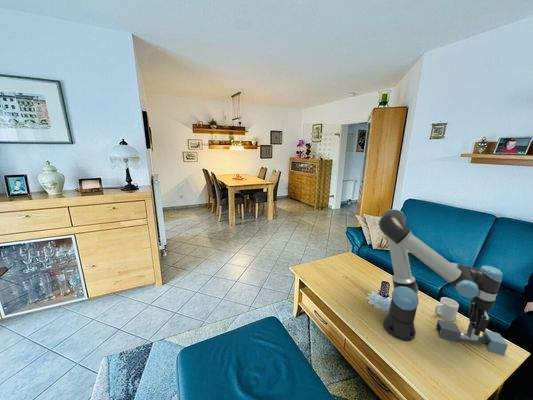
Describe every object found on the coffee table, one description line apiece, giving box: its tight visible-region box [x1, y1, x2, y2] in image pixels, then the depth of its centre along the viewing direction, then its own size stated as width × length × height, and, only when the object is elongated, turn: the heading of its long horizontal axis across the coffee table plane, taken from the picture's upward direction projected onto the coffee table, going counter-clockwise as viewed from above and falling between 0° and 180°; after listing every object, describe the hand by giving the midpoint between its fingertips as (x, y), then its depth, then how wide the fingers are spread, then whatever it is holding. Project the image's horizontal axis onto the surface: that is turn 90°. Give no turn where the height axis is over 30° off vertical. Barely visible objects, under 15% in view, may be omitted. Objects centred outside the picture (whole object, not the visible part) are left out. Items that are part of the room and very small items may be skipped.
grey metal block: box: [435, 319, 462, 344], centre depth 116 cm, size 8×6×6 cm
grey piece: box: [460, 321, 485, 345], centre depth 113 cm, size 15×3×9 cm, turn 69°
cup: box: [434, 296, 460, 322], centre depth 129 cm, size 8×12×10 cm
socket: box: [481, 329, 509, 356], centre depth 110 cm, size 6×7×6 cm
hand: (472, 335), depth 113 cm, fingers closed on grey piece, 3 cm apart
